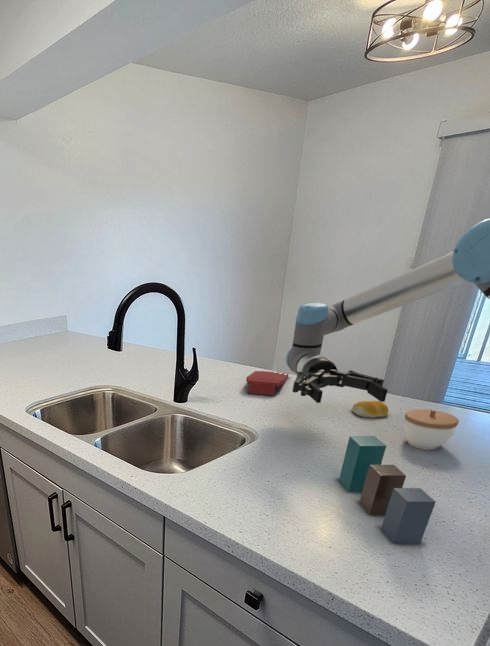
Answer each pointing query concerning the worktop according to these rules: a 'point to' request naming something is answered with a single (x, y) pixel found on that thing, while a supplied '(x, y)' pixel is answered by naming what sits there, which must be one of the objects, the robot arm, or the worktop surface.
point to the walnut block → (380, 487)
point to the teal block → (360, 461)
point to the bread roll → (370, 409)
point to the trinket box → (428, 428)
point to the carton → (265, 382)
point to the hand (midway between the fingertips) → (351, 396)
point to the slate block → (407, 515)
